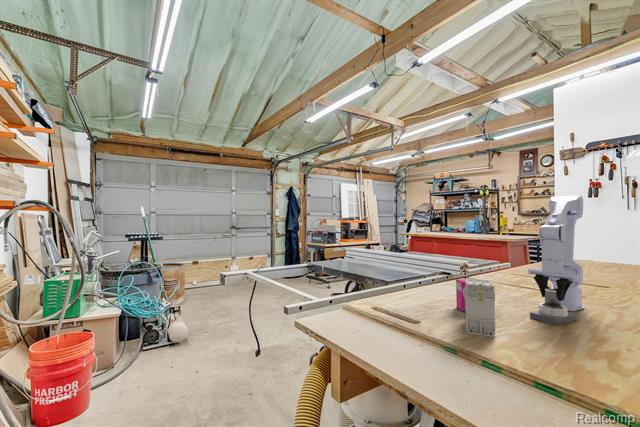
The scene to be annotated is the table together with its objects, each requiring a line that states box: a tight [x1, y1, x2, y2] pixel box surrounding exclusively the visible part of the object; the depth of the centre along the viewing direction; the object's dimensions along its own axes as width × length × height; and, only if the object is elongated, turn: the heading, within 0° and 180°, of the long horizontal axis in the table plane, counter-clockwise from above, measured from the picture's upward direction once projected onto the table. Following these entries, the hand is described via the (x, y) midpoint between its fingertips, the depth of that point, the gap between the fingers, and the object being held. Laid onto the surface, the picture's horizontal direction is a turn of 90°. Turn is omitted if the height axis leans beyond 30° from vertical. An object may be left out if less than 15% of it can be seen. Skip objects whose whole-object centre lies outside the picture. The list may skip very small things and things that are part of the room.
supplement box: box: [455, 278, 466, 313], centre depth 108 cm, size 6×6×12 cm
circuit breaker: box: [464, 278, 496, 338], centre depth 92 cm, size 8×14×15 cm, turn 155°
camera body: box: [529, 302, 577, 326], centre depth 99 cm, size 12×8×4 cm, turn 115°
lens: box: [544, 285, 561, 307], centre depth 99 cm, size 4×4×6 cm
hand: (552, 298), depth 99 cm, fingers closed on lens, 4 cm apart
